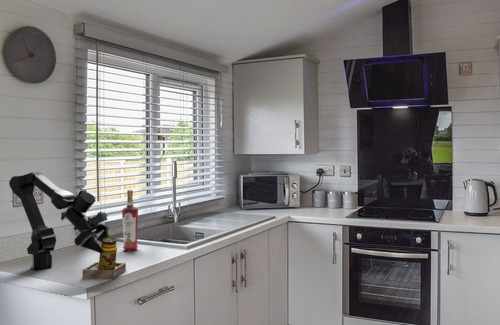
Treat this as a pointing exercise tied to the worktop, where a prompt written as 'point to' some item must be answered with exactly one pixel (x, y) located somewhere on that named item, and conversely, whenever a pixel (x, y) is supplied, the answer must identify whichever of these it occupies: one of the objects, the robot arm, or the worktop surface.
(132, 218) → the liquor
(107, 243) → the condiment
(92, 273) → the walnut tray
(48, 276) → the worktop surface
